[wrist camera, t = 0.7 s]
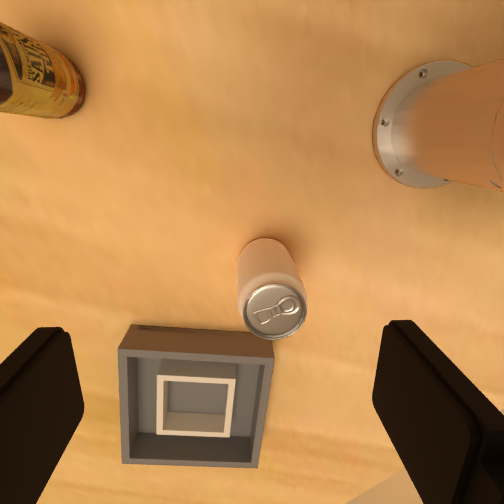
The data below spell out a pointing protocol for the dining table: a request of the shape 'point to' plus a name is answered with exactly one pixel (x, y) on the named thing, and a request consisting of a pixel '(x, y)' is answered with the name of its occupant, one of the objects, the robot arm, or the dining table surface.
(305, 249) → the dining table surface
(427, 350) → the robot arm
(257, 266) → the can
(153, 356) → the box
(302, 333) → the dining table surface
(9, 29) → the sauce bottle
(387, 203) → the dining table surface
